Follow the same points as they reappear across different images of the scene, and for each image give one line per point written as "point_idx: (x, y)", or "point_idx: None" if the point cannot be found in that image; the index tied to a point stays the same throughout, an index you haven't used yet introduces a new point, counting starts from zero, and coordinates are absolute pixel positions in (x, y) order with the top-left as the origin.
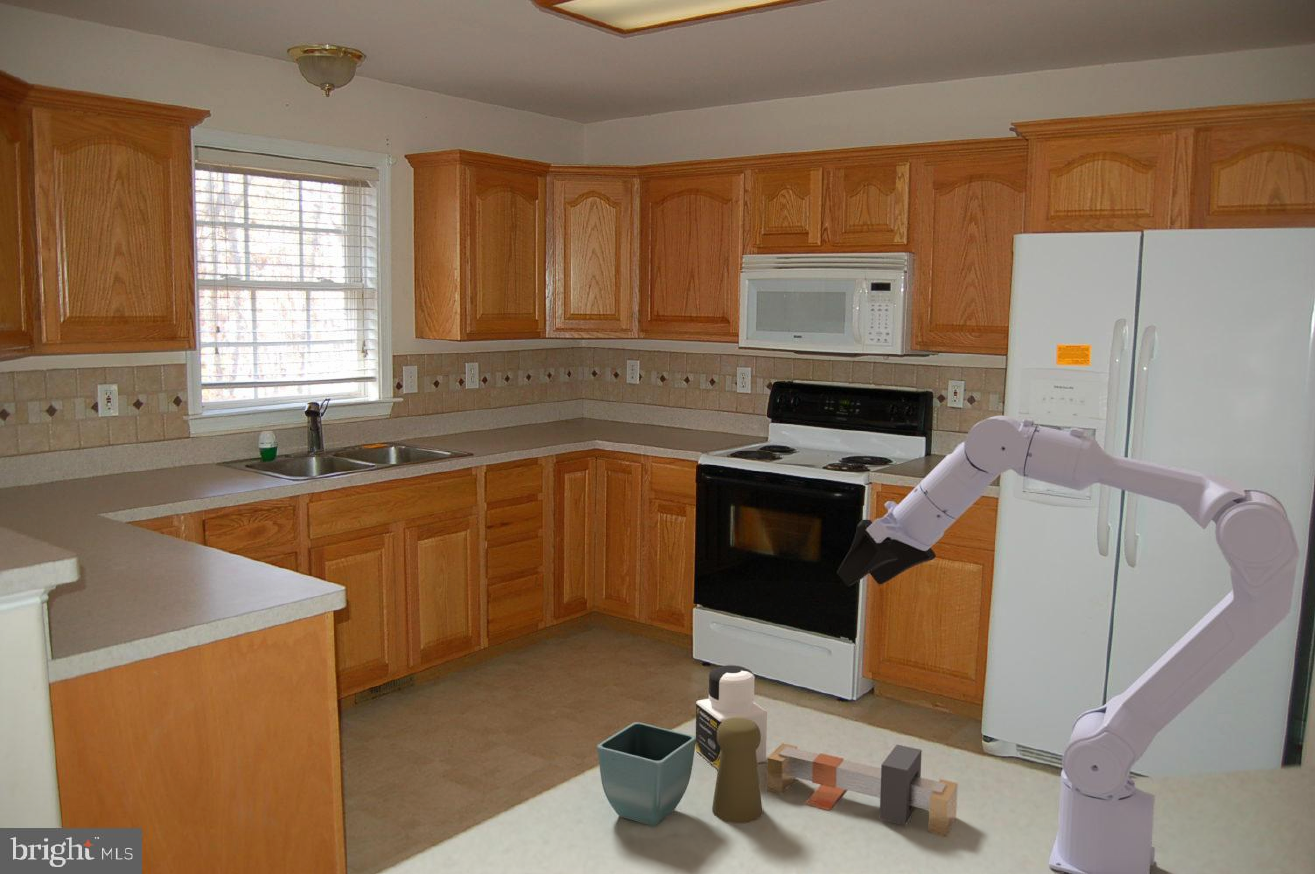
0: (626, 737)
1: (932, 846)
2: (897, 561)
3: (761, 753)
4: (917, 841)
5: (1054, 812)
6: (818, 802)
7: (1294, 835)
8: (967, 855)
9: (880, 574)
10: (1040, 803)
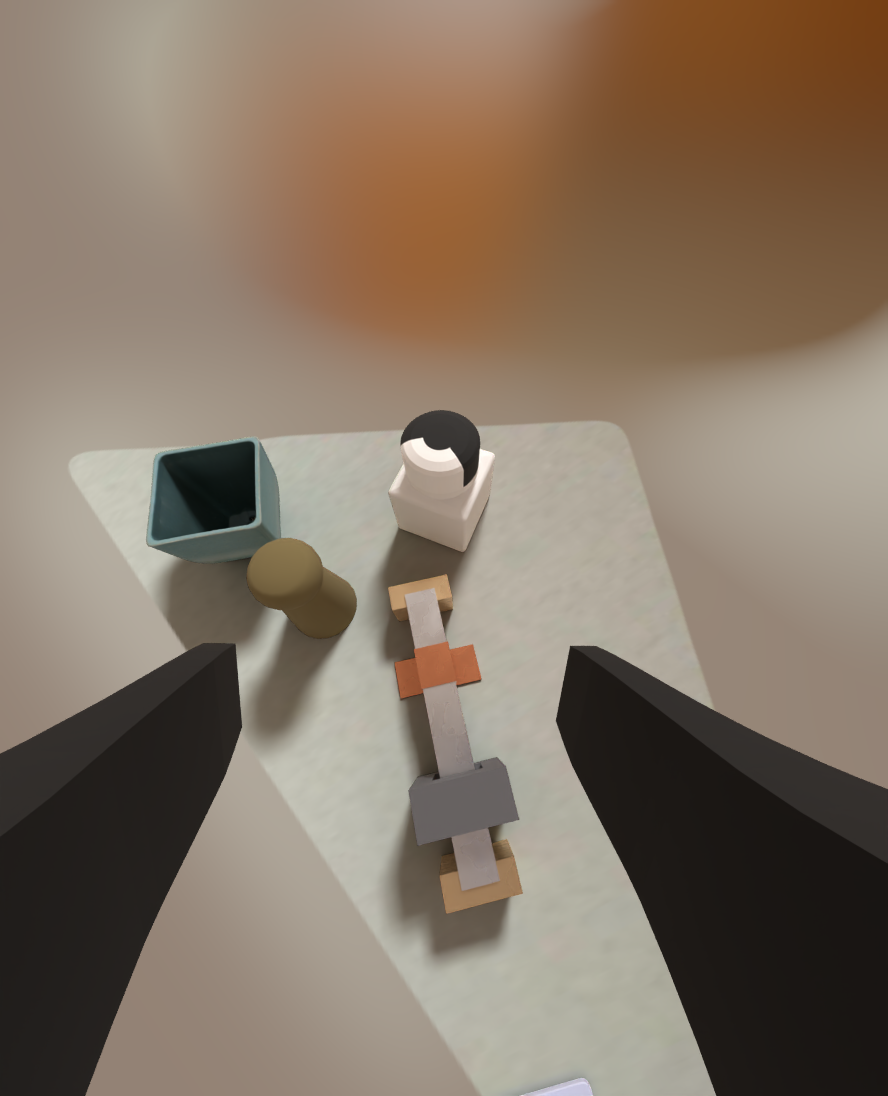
0: (231, 452)
1: (405, 885)
2: (667, 863)
3: (455, 545)
4: (404, 856)
5: (664, 1024)
6: (407, 675)
7: None
8: (416, 950)
9: (579, 725)
10: None
